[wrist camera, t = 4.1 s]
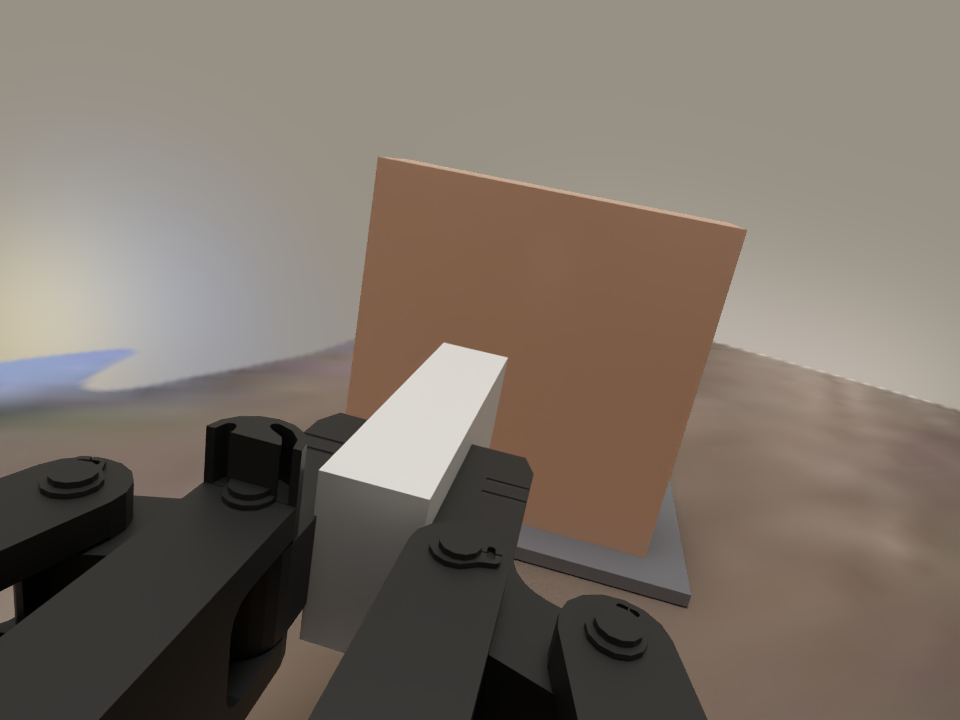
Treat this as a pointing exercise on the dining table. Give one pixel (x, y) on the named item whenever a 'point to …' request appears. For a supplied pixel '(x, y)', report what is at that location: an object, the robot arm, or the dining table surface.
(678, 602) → the charcoal mat
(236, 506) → the robot arm
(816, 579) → the dining table surface
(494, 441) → the terracotta tile
